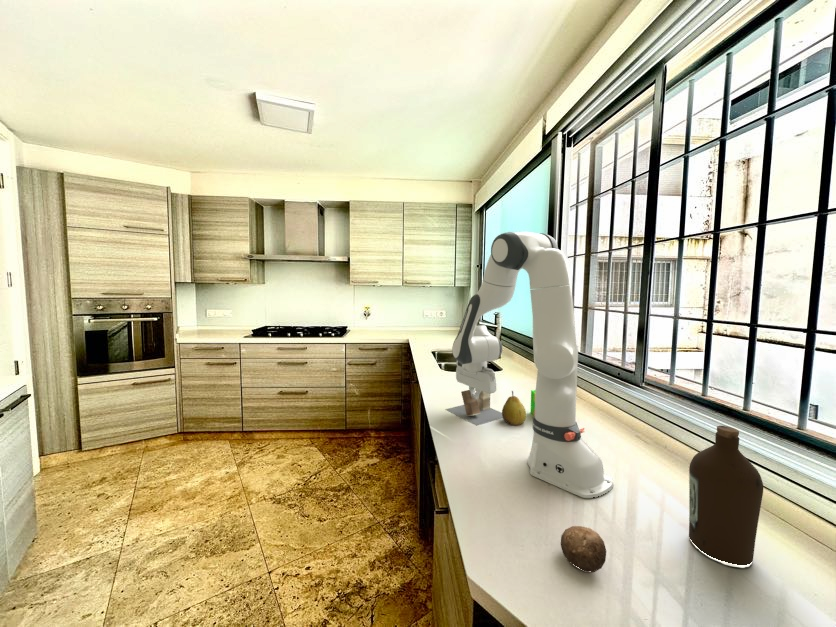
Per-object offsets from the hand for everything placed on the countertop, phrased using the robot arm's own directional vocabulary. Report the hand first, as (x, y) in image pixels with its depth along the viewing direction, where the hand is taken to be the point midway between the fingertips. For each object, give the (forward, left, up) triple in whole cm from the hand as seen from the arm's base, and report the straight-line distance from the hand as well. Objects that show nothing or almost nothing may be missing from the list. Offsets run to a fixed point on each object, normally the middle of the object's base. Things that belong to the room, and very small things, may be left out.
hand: (474, 398), depth 131 cm
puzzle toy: (-15, -25, -9) cm, 31 cm away
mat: (+4, -4, -8) cm, 10 cm away
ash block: (+6, -10, -8) cm, 14 cm away
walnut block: (+1, 0, -7) cm, 7 cm away
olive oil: (-76, +4, -9) cm, 77 cm away
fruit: (-11, -10, -9) cm, 18 cm away
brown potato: (-63, +30, -9) cm, 71 cm away
